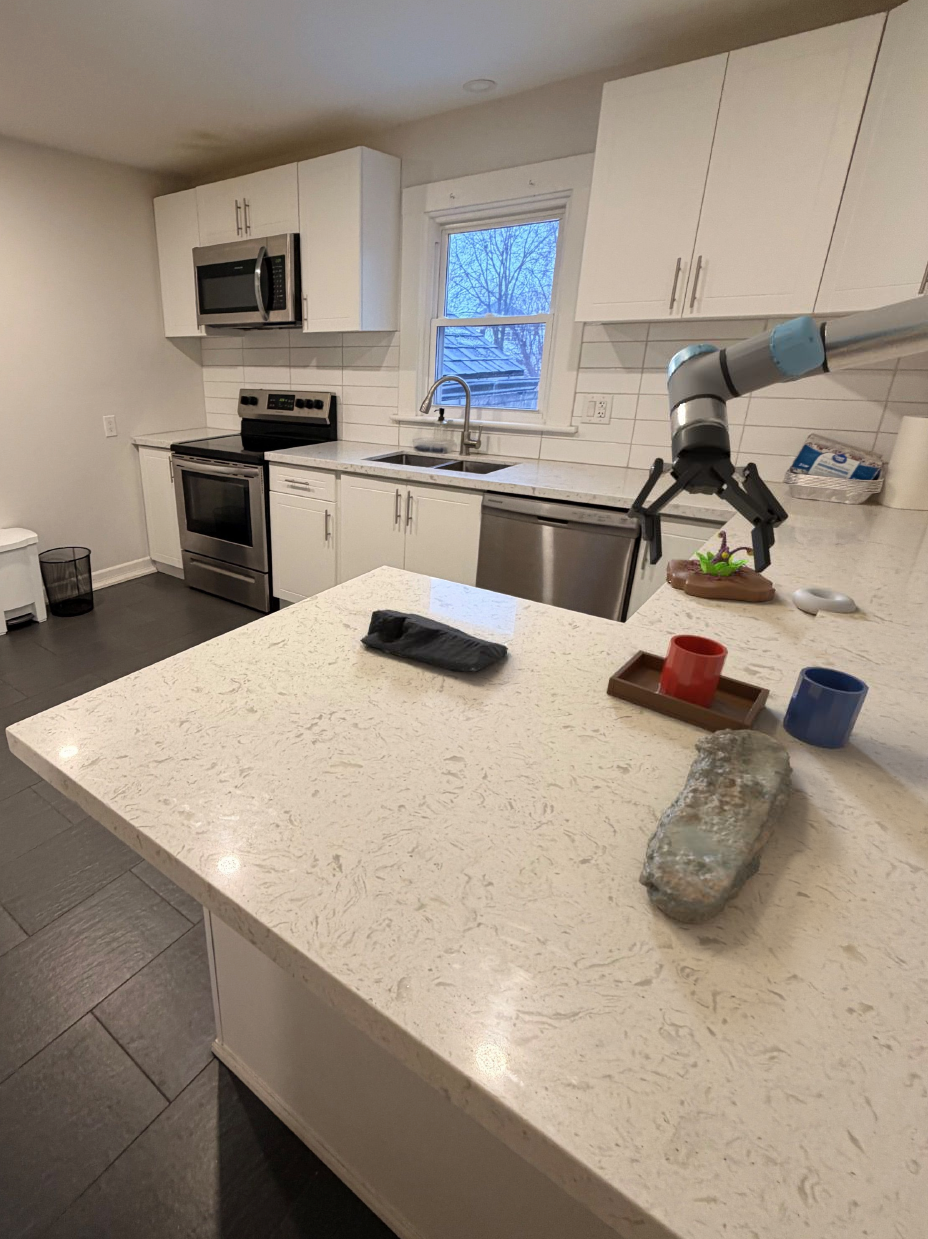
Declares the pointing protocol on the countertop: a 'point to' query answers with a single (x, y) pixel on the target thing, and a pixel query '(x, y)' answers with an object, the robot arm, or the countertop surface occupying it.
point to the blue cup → (824, 707)
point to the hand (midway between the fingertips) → (708, 564)
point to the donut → (822, 600)
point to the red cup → (693, 669)
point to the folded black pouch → (430, 641)
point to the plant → (720, 576)
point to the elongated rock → (717, 824)
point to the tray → (730, 707)
